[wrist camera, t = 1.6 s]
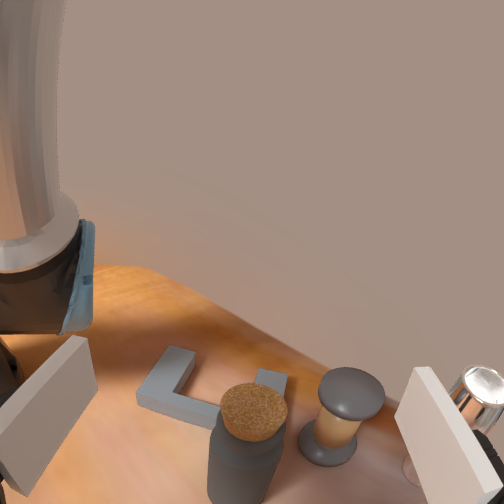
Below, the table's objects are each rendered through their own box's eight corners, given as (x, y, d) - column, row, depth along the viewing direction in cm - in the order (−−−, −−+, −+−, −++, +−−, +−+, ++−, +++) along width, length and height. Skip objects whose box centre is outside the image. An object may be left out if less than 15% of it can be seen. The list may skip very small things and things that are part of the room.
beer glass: (439, 447, 31) (498, 363, 26) (449, 487, 25) (523, 405, 19) (395, 448, 32) (451, 361, 26) (402, 492, 25) (474, 409, 20)
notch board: (137, 405, 35) (135, 392, 34) (170, 357, 45) (169, 344, 44) (272, 444, 33) (275, 432, 32) (284, 386, 42) (288, 373, 41)
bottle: (208, 467, 29) (214, 374, 23) (262, 470, 29) (291, 379, 23) (205, 512, 23) (209, 435, 18) (265, 515, 24) (301, 439, 18)
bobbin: (295, 462, 30) (318, 409, 27) (301, 419, 37) (321, 362, 33) (353, 469, 29) (388, 418, 25) (353, 426, 36) (381, 372, 32)
